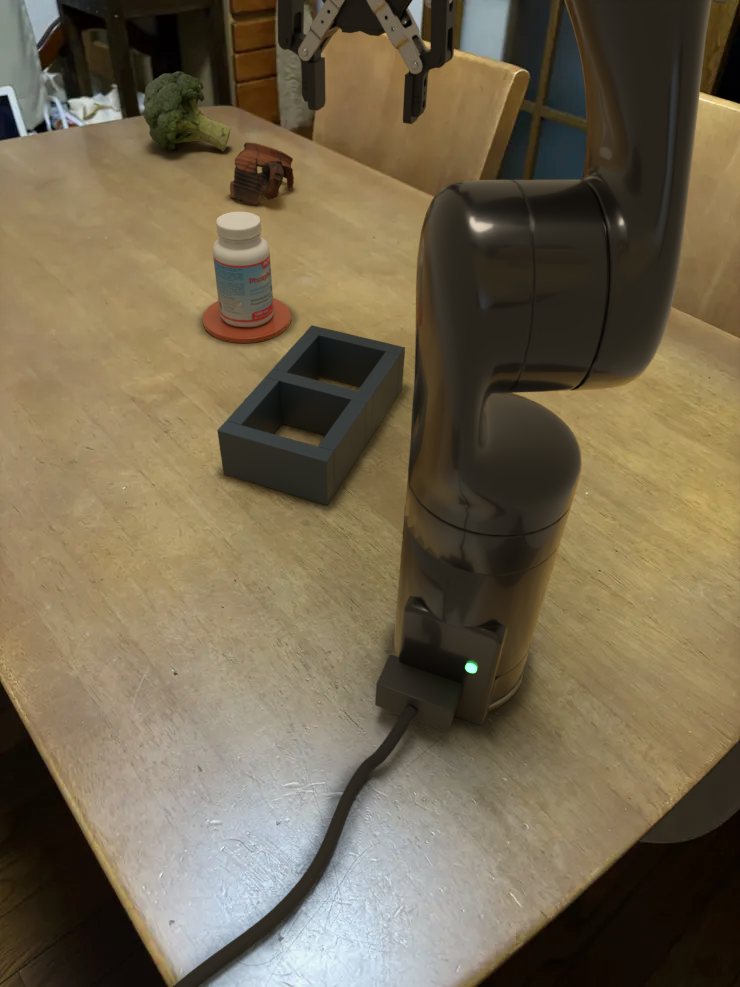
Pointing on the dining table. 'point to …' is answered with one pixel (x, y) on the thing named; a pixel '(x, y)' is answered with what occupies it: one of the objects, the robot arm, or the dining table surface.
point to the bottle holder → (313, 413)
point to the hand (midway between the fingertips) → (363, 114)
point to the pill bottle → (242, 270)
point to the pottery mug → (265, 182)
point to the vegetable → (180, 113)
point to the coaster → (247, 334)
